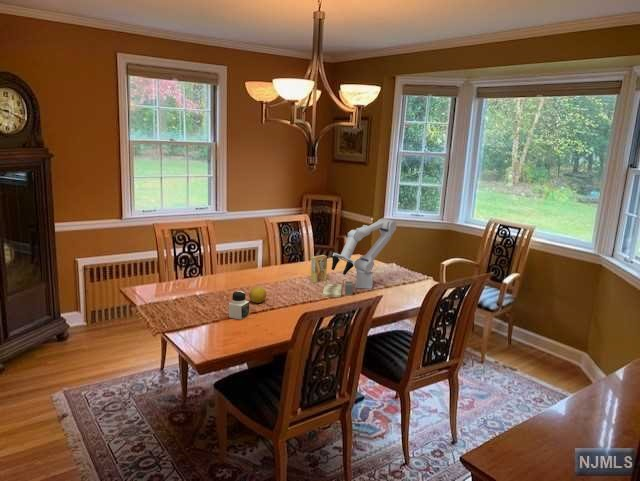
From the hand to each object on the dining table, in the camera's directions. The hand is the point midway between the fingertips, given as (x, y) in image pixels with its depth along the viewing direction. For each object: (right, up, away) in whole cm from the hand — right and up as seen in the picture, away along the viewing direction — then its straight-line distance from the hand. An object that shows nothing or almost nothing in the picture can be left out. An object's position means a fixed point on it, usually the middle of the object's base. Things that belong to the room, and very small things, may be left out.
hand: (338, 272), depth 268 cm
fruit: (-42, -15, -16) cm, 48 cm away
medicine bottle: (-49, -19, -37) cm, 64 cm away
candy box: (-11, -7, +22) cm, 25 cm away
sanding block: (+6, -12, 0) cm, 13 cm away
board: (-3, -11, +4) cm, 12 cm away
